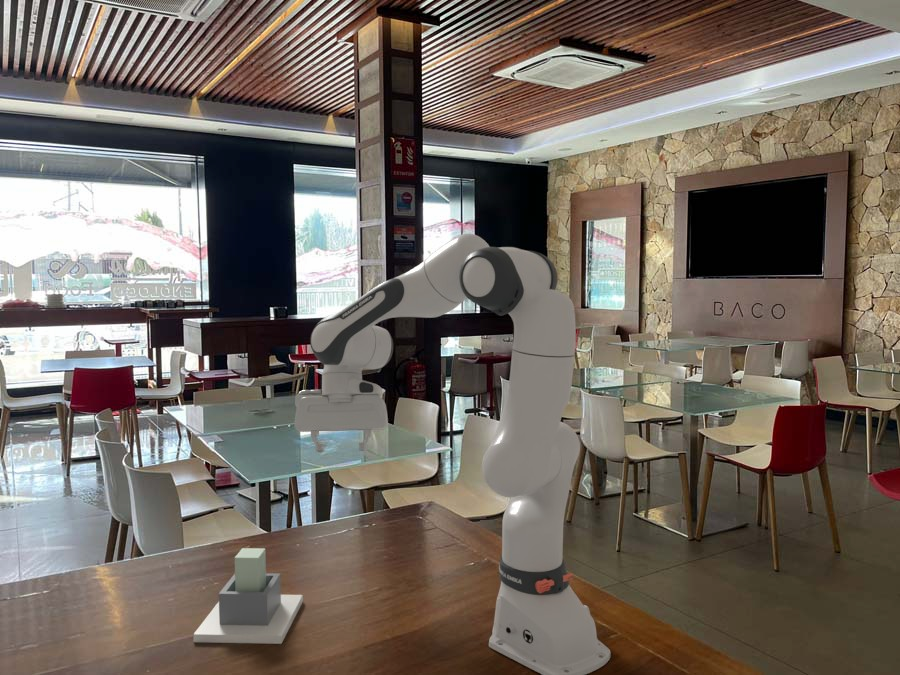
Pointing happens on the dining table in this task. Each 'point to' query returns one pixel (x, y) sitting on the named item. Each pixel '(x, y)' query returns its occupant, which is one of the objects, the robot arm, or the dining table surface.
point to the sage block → (250, 570)
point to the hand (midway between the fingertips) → (341, 451)
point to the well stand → (250, 615)
